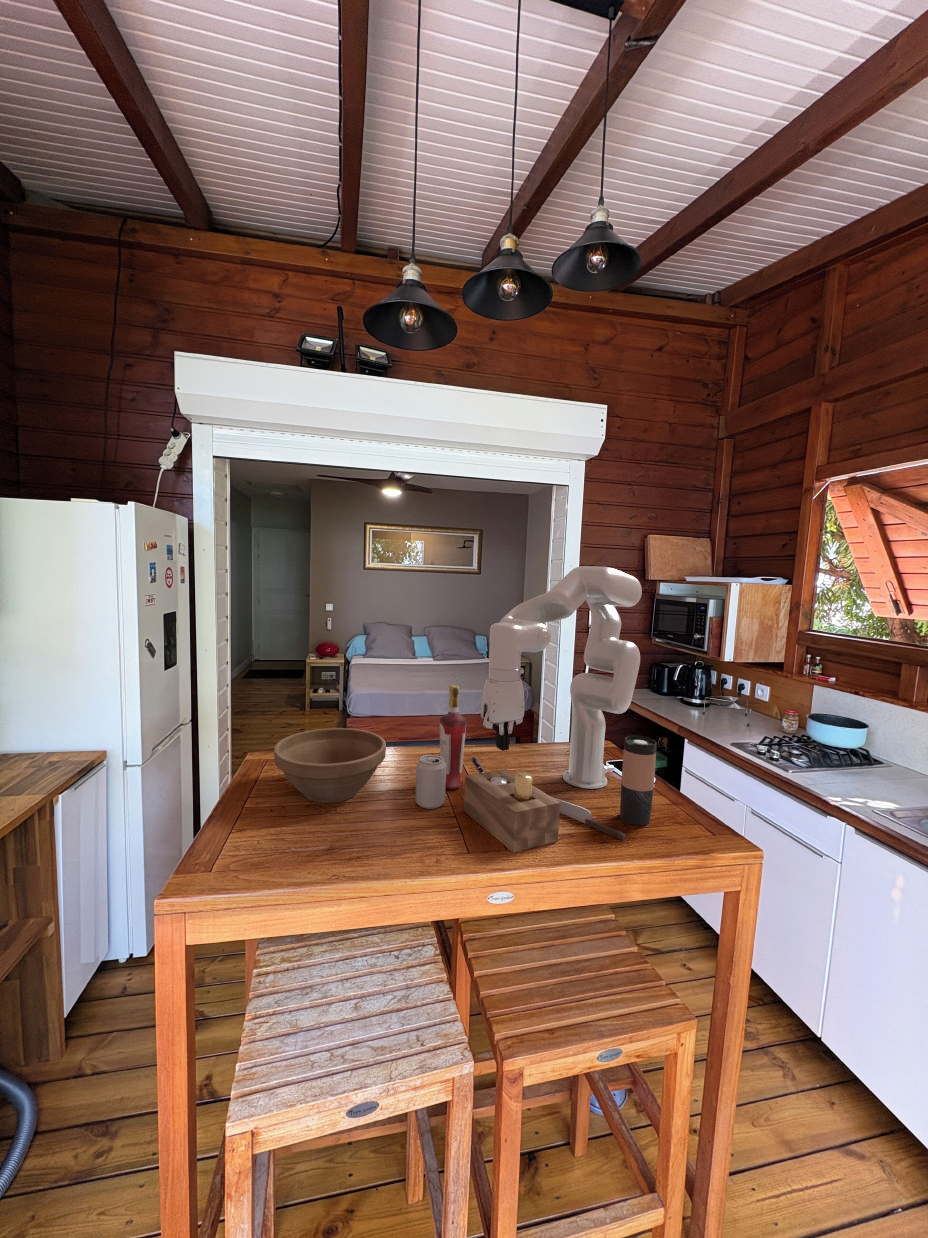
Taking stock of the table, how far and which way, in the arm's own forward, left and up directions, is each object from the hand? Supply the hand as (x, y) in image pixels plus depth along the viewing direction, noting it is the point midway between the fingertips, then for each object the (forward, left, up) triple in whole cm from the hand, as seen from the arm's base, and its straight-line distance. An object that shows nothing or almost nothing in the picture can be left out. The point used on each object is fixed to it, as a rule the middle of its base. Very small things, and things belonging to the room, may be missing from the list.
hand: (502, 748), depth 131 cm
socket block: (+1, +5, -17) cm, 18 cm away
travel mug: (-30, +15, -17) cm, 38 cm away
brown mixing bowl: (+34, -30, -17) cm, 48 cm away
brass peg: (+1, +10, -11) cm, 15 cm away
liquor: (+3, -21, -17) cm, 27 cm away
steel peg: (+1, 0, -16) cm, 16 cm away
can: (+13, -13, -17) cm, 25 cm away
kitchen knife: (-16, +7, -18) cm, 25 cm away
